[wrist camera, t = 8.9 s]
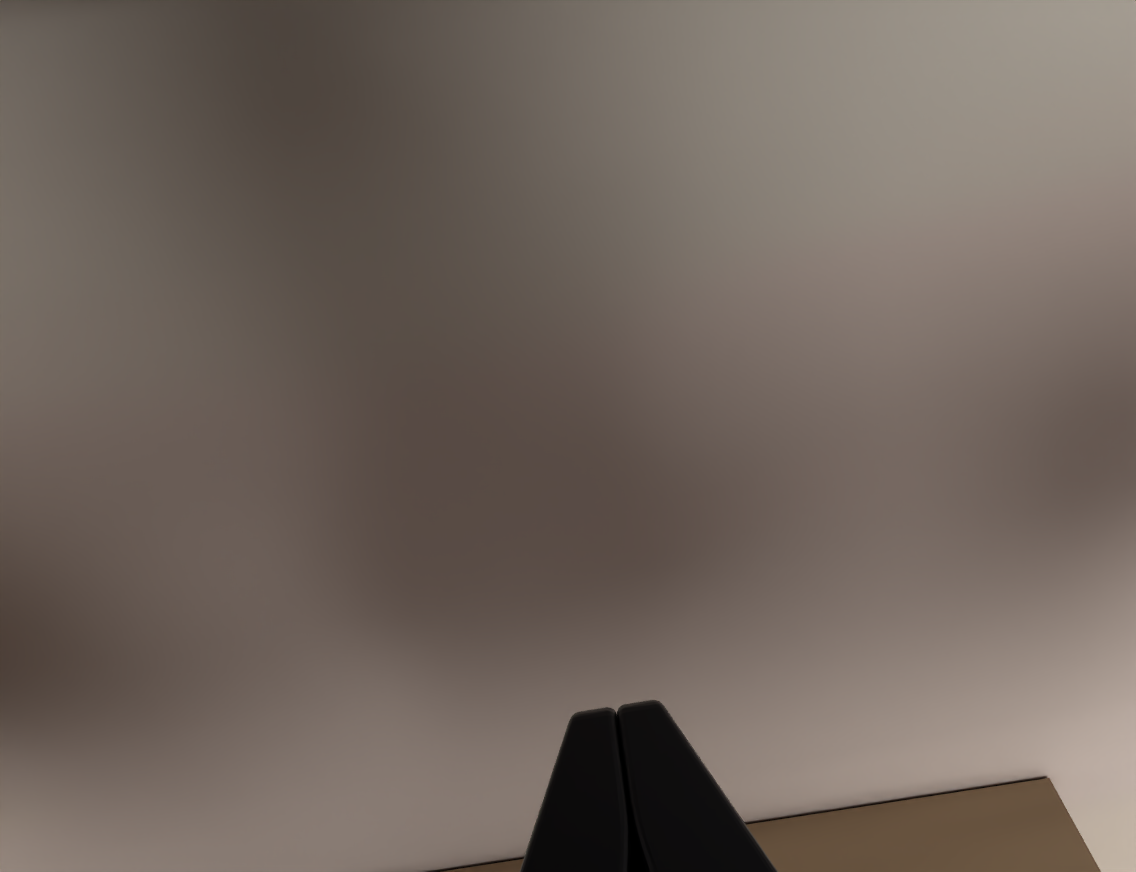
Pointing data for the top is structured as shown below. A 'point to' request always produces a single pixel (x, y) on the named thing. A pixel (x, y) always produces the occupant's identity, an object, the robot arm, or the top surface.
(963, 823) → the bay
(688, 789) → the robot arm
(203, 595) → the top surface
